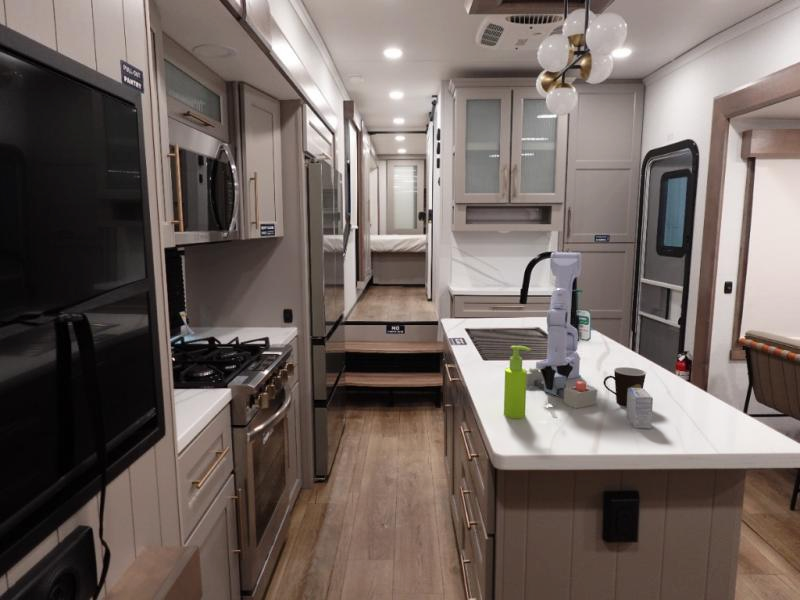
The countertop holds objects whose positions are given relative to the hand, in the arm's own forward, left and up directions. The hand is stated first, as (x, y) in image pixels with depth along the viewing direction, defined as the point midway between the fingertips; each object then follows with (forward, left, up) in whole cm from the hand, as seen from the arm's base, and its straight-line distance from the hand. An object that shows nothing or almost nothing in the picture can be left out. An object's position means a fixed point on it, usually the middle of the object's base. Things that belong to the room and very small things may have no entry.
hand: (555, 388), depth 159 cm
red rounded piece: (0, +11, +1) cm, 11 cm away
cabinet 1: (0, -10, -2) cm, 10 cm away
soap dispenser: (+23, +10, -2) cm, 25 cm away
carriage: (0, 0, -2) cm, 2 cm away
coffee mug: (-12, +16, -2) cm, 20 cm away
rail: (0, 0, -2) cm, 2 cm away
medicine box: (-3, +29, -2) cm, 29 cm away
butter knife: (+15, +17, -2) cm, 22 cm away
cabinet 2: (0, +11, -2) cm, 11 cm away
